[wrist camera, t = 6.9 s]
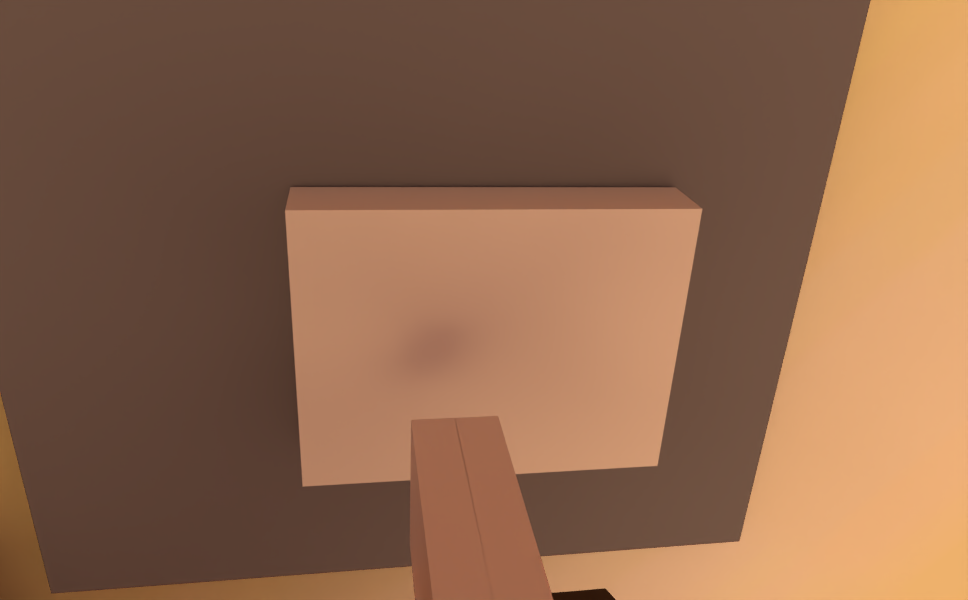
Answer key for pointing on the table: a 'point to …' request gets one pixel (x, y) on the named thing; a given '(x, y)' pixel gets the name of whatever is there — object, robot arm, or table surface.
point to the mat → (370, 163)
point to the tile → (486, 321)
